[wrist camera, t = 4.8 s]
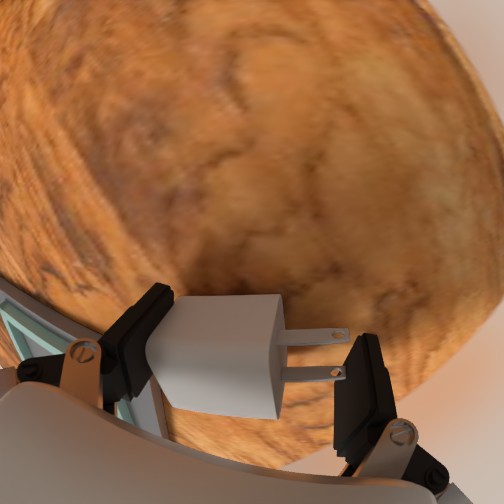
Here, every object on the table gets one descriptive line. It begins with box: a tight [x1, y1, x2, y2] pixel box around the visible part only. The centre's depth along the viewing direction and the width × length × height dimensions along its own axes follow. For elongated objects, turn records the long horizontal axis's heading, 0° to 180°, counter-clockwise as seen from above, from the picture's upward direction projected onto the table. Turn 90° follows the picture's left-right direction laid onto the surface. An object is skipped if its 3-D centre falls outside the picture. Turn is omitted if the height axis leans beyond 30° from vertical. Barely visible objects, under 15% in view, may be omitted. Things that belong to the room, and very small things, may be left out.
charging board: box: [0, 277, 170, 440], centre depth 18 cm, size 16×18×2 cm
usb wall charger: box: [145, 294, 350, 419], centre depth 10 cm, size 4×7×4 cm, turn 99°
